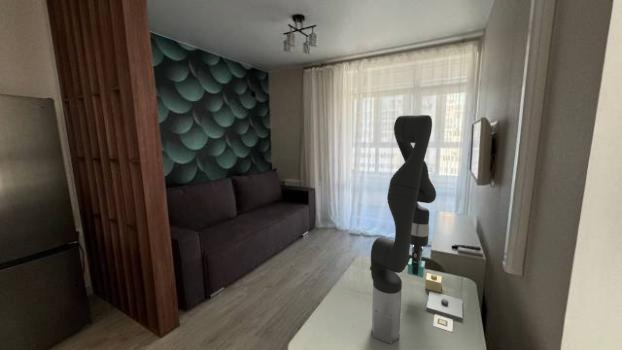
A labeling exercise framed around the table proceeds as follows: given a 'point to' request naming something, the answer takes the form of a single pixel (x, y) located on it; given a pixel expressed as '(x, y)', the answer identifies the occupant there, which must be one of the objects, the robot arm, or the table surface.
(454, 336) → the table surface
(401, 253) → the robot arm
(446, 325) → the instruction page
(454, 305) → the plate
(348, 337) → the table surface
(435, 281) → the yellow knobbed block
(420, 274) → the teal brick
